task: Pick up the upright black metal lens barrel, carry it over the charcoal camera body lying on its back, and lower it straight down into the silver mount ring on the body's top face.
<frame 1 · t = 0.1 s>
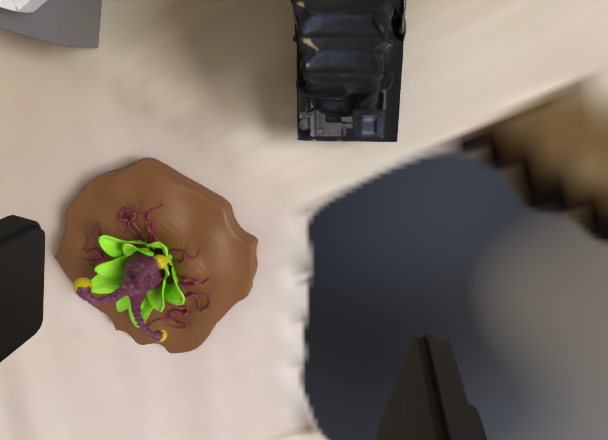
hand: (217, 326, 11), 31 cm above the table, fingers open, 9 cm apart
vintage camera: (353, 43, 37), on the table
plant: (161, 252, 47), on the table
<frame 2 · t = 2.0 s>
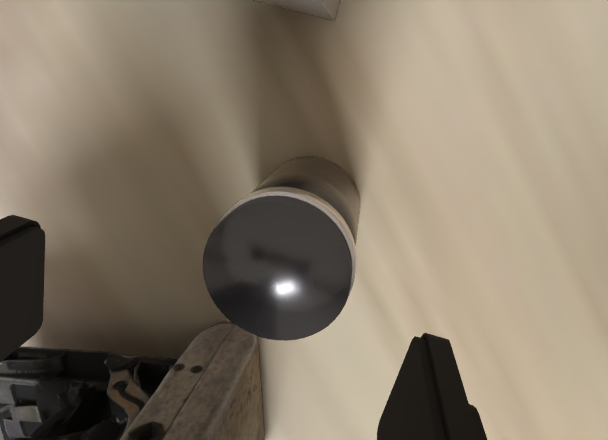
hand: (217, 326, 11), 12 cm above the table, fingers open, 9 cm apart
vintage camera: (151, 379, 27), on the table
lens: (310, 206, 22), on the table
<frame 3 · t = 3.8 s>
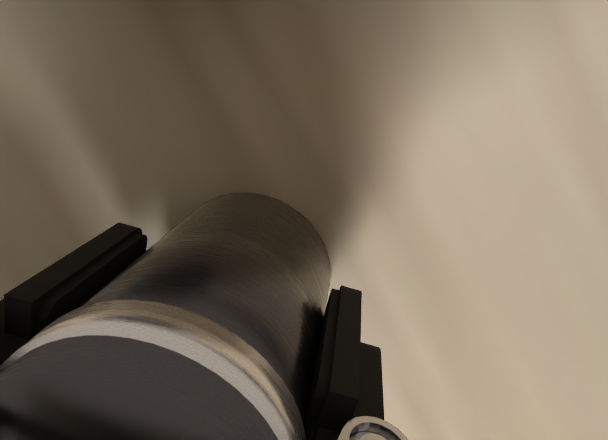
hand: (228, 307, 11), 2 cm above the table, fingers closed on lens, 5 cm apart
lens: (250, 270, 14), on the table, touching gripper
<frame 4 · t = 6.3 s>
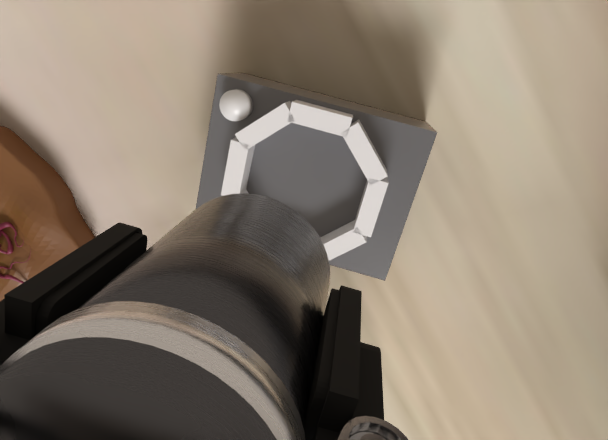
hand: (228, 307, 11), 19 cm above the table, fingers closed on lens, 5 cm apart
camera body: (315, 164, 29), on the table
lens: (249, 270, 13), point 17 cm above the table, touching gripper
when the fingers open (8 cm above the table, at t = 8.6 s): lens stays where it is, resting on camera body.
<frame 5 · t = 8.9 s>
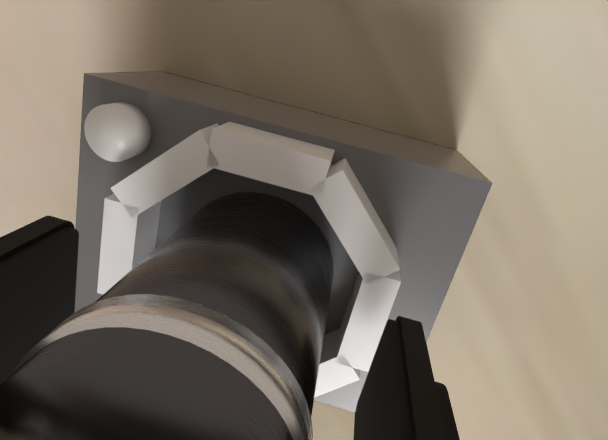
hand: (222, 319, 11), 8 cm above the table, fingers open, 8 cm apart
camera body: (281, 215, 19), on the table
lens: (255, 267, 14), point 5 cm above the table, touching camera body
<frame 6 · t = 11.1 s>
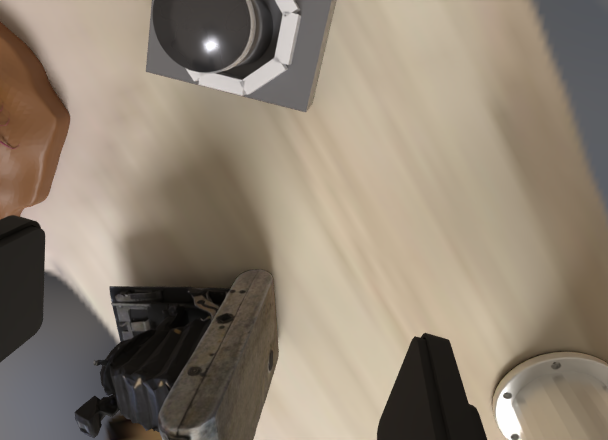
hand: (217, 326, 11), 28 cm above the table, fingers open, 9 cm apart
vintage camera: (205, 307, 45), on the table
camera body: (251, 28, 34), on the table
lens: (237, 26, 30), point 5 cm above the table, touching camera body
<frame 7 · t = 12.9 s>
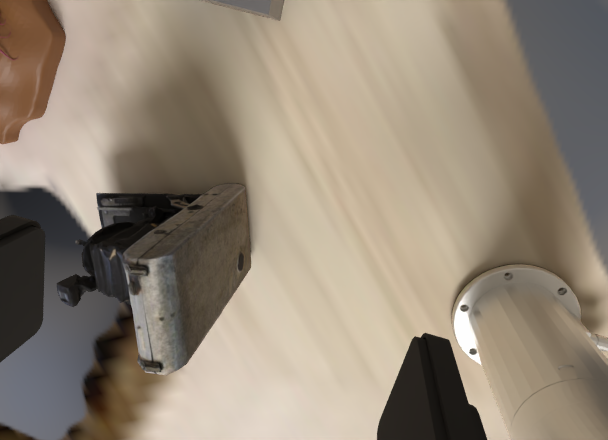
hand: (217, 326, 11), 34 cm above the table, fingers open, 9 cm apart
vintage camera: (185, 223, 48), on the table
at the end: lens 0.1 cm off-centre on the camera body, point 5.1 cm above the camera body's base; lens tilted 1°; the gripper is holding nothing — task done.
